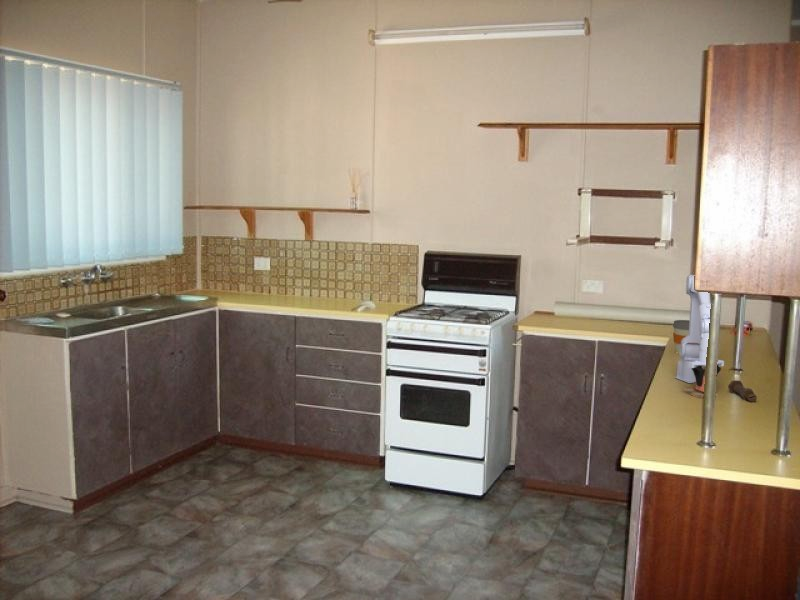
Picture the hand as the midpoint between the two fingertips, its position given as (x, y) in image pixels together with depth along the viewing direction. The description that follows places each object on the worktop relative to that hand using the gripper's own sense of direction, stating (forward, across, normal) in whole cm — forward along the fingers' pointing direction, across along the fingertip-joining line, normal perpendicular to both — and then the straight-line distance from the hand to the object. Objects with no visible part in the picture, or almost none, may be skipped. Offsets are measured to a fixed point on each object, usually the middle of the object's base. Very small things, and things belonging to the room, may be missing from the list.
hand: (704, 385), depth 301 cm
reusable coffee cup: (+4, +45, +69) cm, 83 cm away
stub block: (+4, 0, +2) cm, 5 cm away
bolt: (+5, +13, -5) cm, 15 cm away
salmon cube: (+2, 0, 0) cm, 2 cm away
